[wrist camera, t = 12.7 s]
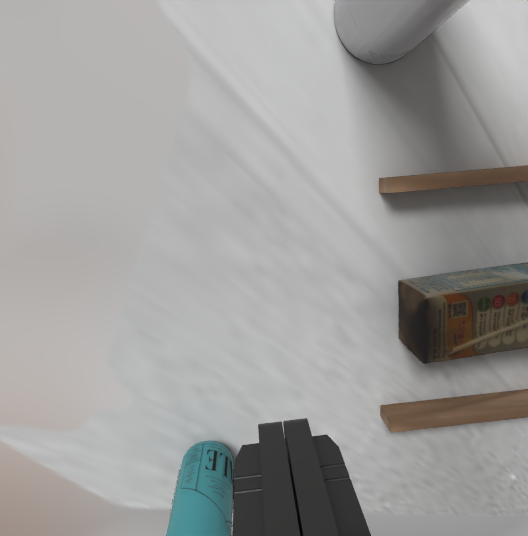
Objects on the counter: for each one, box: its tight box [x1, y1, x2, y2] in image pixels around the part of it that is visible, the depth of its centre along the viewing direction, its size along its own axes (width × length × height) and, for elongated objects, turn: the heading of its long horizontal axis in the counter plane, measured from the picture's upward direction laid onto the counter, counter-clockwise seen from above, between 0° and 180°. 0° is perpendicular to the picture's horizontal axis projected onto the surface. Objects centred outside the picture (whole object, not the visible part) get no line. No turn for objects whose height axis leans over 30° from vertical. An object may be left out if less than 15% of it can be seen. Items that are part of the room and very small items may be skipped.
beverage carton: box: [398, 263, 528, 364], centre depth 37 cm, size 8×19×7 cm, turn 97°
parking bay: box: [379, 166, 528, 432], centre depth 38 cm, size 29×22×3 cm
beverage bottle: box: [166, 441, 235, 536], centre depth 32 cm, size 6×7×20 cm
